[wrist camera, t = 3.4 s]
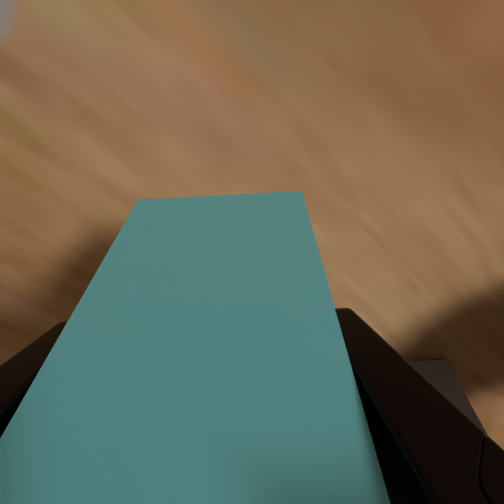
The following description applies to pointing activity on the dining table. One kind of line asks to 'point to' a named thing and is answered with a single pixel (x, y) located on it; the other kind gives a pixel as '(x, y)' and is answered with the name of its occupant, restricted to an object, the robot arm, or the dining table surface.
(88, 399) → the teal domino
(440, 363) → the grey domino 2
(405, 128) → the dining table surface
